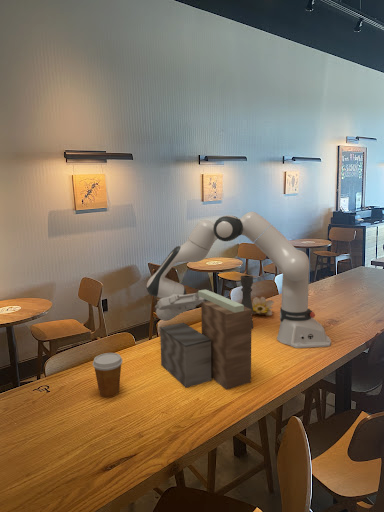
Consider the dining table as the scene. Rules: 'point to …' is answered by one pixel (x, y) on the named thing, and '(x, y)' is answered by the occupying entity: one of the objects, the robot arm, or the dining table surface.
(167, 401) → the dining table surface
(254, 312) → the decorative flower
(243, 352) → the plinth
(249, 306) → the candle holder
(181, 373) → the dark wood grain brick
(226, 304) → the slat
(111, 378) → the disposable coffee cup
